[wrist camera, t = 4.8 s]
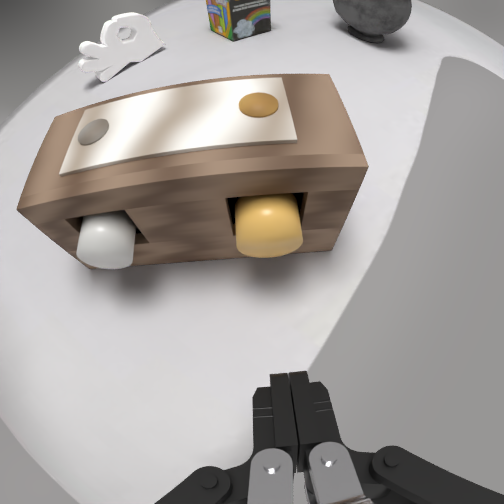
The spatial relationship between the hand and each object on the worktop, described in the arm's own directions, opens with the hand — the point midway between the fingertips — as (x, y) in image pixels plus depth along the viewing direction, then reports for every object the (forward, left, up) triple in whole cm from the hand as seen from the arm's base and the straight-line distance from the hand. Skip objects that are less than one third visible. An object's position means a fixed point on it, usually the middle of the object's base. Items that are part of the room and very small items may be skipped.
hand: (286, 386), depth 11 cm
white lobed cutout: (-6, +55, -12) cm, 57 cm away
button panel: (-1, +17, -12) cm, 21 cm away
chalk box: (+17, +57, -12) cm, 61 cm away
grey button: (-8, +13, -7) cm, 17 cm away
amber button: (+3, +10, -7) cm, 13 cm away
